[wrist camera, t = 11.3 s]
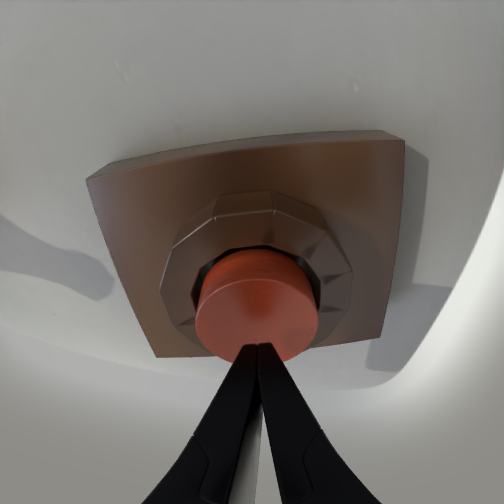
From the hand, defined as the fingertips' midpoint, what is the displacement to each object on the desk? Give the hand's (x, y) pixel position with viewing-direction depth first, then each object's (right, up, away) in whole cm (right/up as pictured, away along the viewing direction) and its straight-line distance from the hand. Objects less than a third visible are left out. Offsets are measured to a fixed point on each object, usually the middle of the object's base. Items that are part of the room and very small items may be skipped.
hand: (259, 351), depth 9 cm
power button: (0, +1, +2) cm, 3 cm away
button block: (0, +3, +5) cm, 6 cm away
